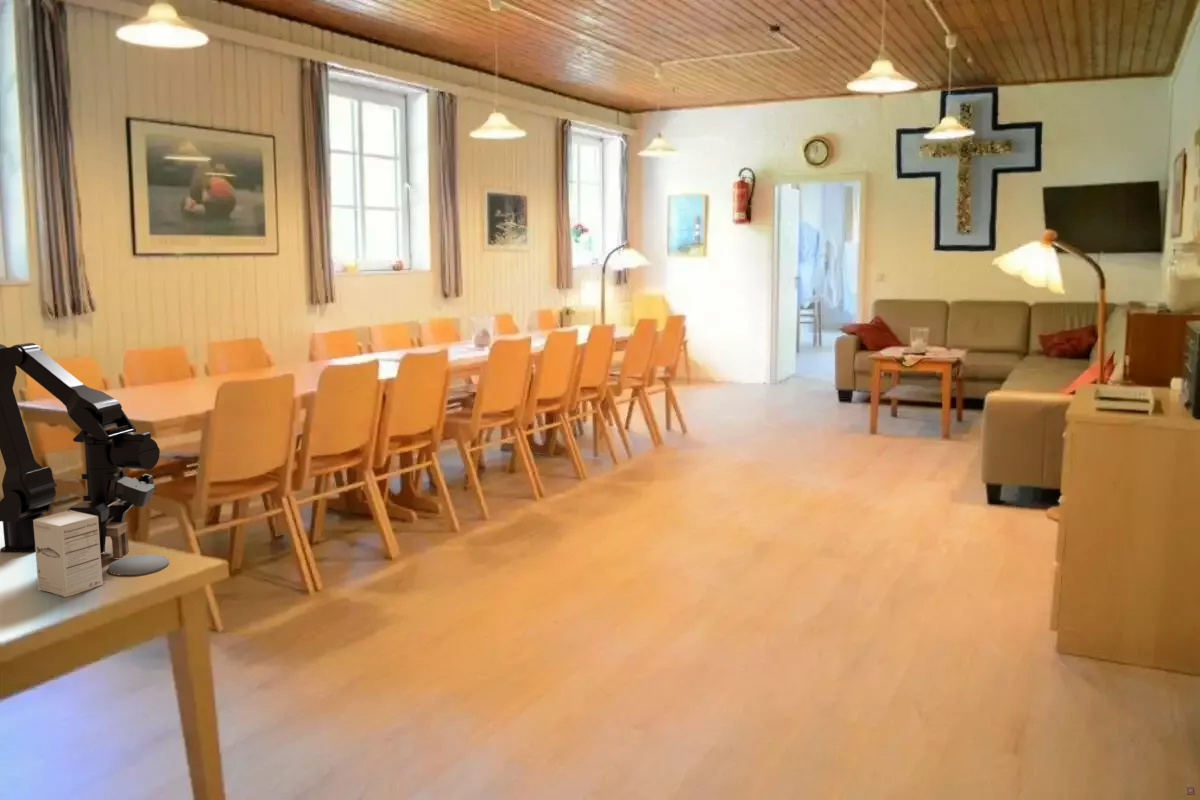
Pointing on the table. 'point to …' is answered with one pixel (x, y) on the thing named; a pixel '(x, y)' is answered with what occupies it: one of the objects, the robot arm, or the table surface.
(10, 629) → the table surface
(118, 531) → the walnut stool
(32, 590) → the table surface
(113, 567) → the slate mat
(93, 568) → the supplement box
